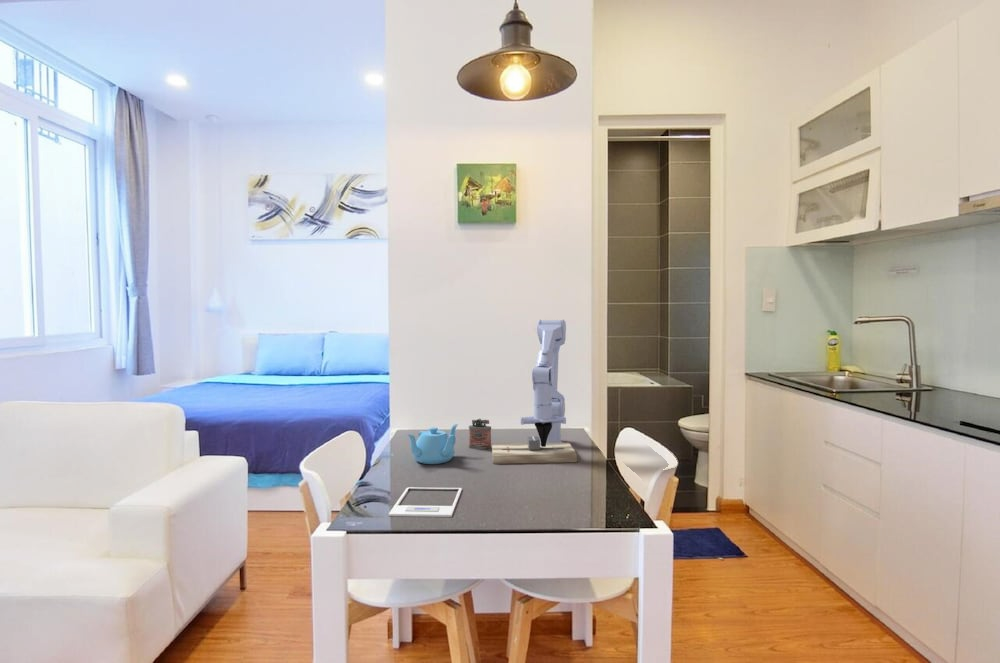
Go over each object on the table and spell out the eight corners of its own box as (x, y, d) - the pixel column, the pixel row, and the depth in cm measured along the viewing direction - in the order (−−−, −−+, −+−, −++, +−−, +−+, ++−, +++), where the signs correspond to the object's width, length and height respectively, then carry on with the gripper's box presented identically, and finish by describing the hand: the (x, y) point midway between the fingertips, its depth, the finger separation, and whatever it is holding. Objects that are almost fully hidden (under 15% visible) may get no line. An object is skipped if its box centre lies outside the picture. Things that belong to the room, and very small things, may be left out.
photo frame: (388, 513, 118) (407, 486, 136) (388, 517, 118) (407, 490, 136) (451, 513, 117) (461, 487, 135) (451, 518, 117) (461, 491, 135)
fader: (527, 445, 168) (527, 436, 168) (538, 445, 168) (538, 436, 168) (529, 449, 163) (529, 440, 163) (540, 449, 163) (540, 440, 163)
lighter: (467, 448, 176) (467, 419, 176) (470, 445, 180) (470, 417, 179) (489, 450, 174) (489, 420, 174) (492, 447, 177) (492, 418, 177)
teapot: (416, 453, 171) (415, 422, 170) (461, 453, 170) (460, 422, 170) (406, 466, 156) (405, 433, 156) (455, 466, 156) (455, 433, 155)
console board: (492, 451, 172) (492, 443, 172) (569, 450, 173) (569, 442, 173) (493, 463, 158) (493, 455, 158) (576, 462, 159) (576, 453, 159)
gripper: (521, 406, 161) (522, 449, 161) (567, 405, 161) (567, 448, 162) (519, 402, 168) (520, 443, 168) (563, 402, 168) (564, 443, 169)
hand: (543, 445), depth 166 cm, fingers closed
